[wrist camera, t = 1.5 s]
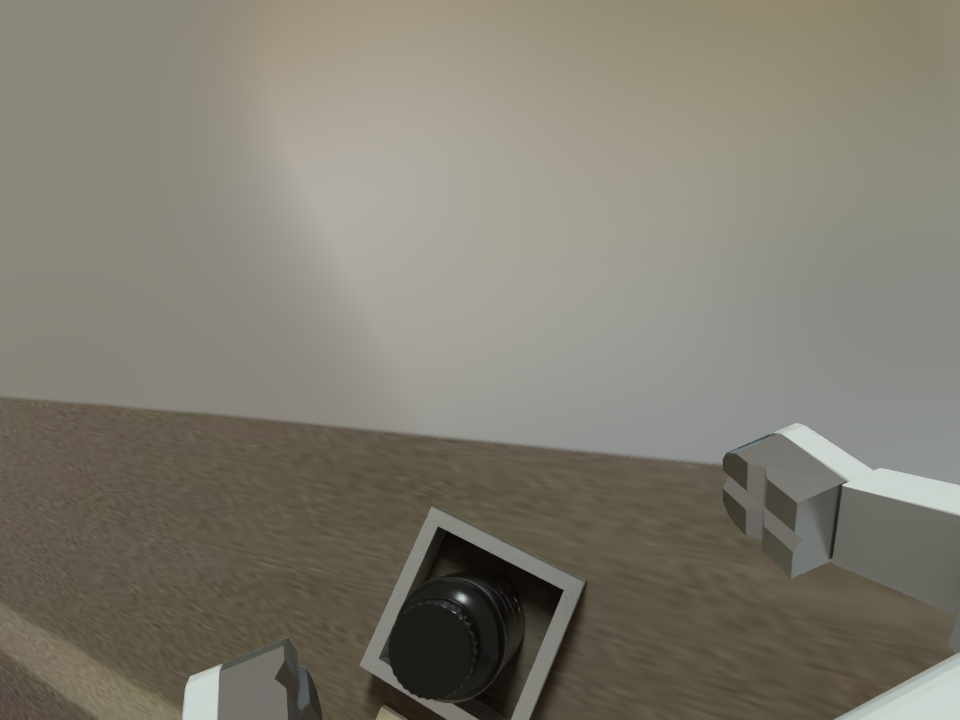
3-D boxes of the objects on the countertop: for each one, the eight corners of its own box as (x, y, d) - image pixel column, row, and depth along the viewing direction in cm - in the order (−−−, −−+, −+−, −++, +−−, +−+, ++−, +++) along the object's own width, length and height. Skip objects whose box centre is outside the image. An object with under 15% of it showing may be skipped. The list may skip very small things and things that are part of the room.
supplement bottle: (447, 683, 43) (383, 738, 31) (422, 583, 45) (354, 601, 34) (540, 656, 42) (508, 703, 30) (511, 555, 44) (470, 564, 33)
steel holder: (587, 579, 42) (584, 582, 40) (520, 744, 41) (512, 760, 38) (443, 507, 46) (431, 506, 43) (376, 656, 44) (359, 665, 41)
